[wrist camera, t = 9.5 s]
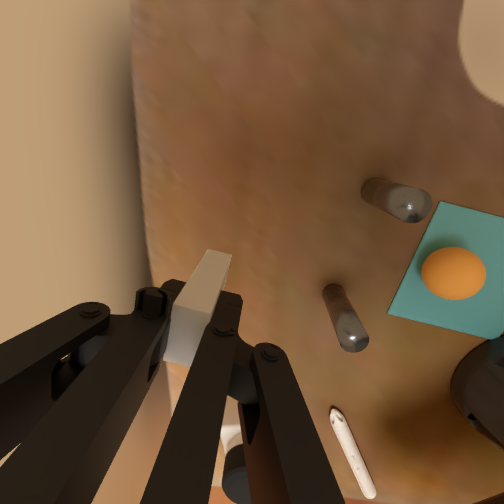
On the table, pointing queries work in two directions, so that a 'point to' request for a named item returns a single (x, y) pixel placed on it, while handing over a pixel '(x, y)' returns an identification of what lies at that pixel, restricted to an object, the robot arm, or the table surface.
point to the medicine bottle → (234, 456)
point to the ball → (453, 273)
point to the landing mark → (466, 310)
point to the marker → (352, 453)
